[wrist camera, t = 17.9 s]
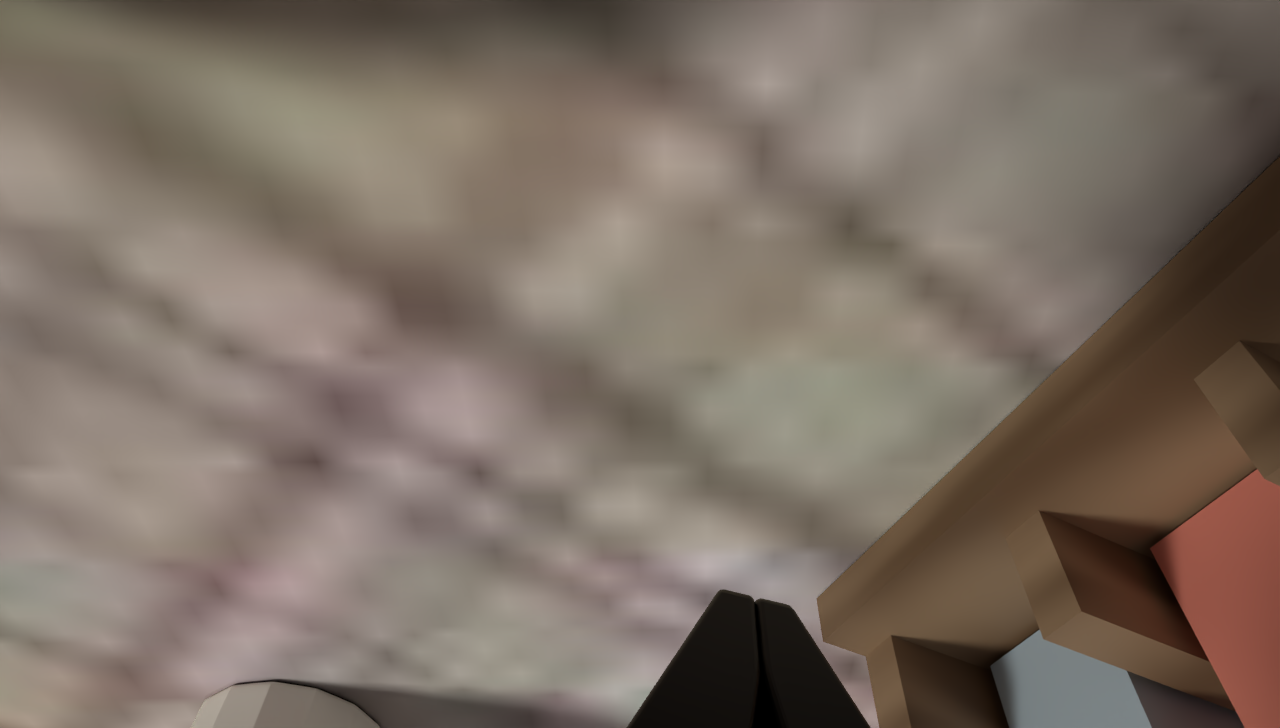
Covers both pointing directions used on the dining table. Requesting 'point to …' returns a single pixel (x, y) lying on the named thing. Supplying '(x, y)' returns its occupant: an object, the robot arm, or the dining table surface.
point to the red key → (1234, 592)
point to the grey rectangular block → (1092, 693)
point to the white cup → (279, 708)
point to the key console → (1084, 494)
